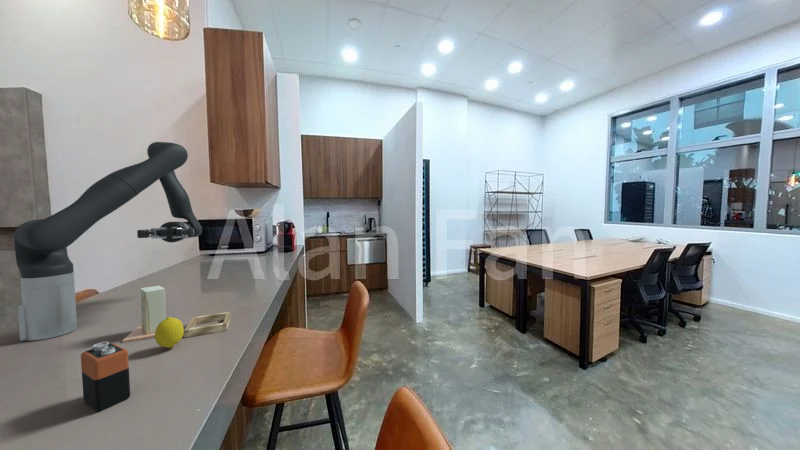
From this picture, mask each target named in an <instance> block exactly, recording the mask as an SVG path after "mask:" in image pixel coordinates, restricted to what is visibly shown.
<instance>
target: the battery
mask: <svg viewBox="0 0 800 450" xmlns="http://www.w3.org/2000/svg"><path fill="white" fill-rule="evenodd" d="M91 348H92V349H89V350H85V351H83V352H81V353H80V362H81V379H82V396H83V401H84V402H85V403H87V404H88V405H89V406H90V407H91V408H92V409H94V410H95V411H97V412H101V411H103V410H105V408H106V409H107V408H111V407H112V406H114V405H117V404H119V403H121V402H123V401H125V400H127V399H129V398H130V397H131V385H130V367H129V351H128V349H126V348H123V347H122V346H120V345H117V344H116V343H112V342H109V341H101V342H98V343H95V344H94V343H93V346H91Z"/></svg>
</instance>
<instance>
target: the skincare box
mask: <svg viewBox="0 0 800 450" xmlns="http://www.w3.org/2000/svg"><path fill="white" fill-rule="evenodd" d="M140 303H141V304H140V305H141V307H140V308H141V326H142V329H143V331H144V332H145V333H146V334H150V333H154V332H155V331H156V328H157V326H158V324H159V323H160V322H162V321H163V320H165V319H167V317H166V313H167V312H166V288H165V287H163V286H162V285H160V284H159V285H152V286H147V287H141V288H140Z"/></svg>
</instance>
